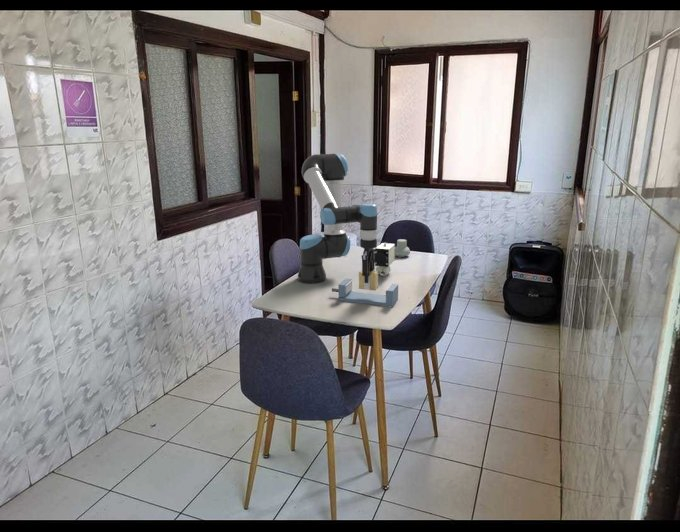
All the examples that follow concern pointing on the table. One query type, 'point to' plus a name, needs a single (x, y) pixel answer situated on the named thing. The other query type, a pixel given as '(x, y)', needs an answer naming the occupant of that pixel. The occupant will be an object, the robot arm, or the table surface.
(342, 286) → the free jaw
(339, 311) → the table surface
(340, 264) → the table surface
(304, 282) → the robot arm
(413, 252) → the table surface
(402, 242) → the air freshener
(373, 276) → the wooden block
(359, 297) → the vise
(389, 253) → the white pneumatic actuator
